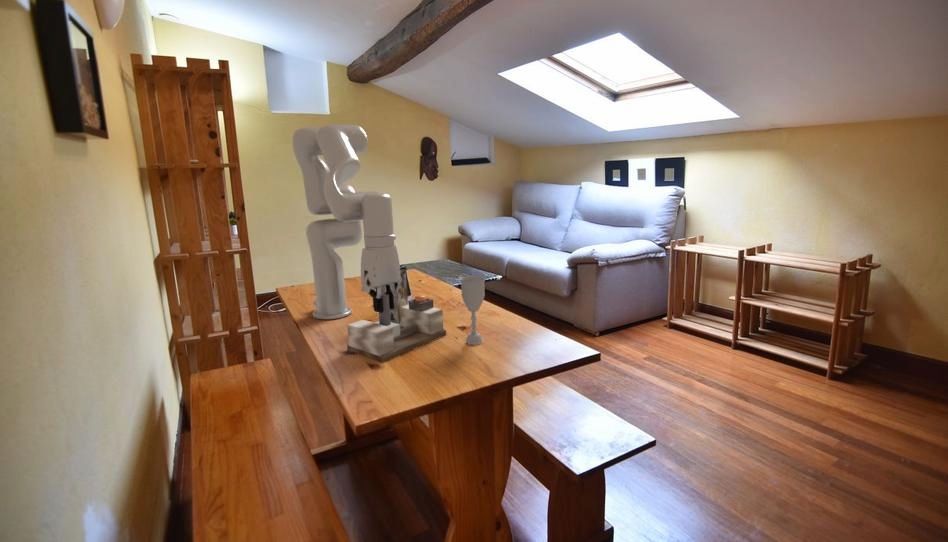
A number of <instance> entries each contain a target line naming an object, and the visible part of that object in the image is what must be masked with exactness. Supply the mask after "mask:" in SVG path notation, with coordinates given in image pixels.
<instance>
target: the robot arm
mask: <svg viewBox="0 0 948 542" xmlns="http://www.w3.org/2000/svg"><path fill="white" fill-rule="evenodd" d="M368 147H369V139H368V136H367V133H366V132H365V130H364V129H363V128H362V127H361V126H360V125H355V124H328V125H327V124H326V125H323V126H305V127H304V126H303V127H300V128H298V129H295V131H294V132H293V135H292V150H293V152H294V157H295V158H296V161H297V163H298V166H299V167H300V169H301V175H302V179H303V186H304V194H305V201H306V205H307V208H308V212H309V213H310V214H312V215H314V216H327V215H328V216H329V215H332V216H333V217H334V218H324V219H317V220H314V221H312V222H310V223H309V224H308V225H307V226H306V229H305V233H306V235H305V236H306V239H307V240H306V241H307V244H308V246H309V249H310V250H309V251H310V256H311V262H312V264H311V265H312V270H313V271H312V272H313V281H314V282H313V283H314V292H315V300H313V302H312V305H313V306H315V310H313V312H312V317H313V318H314V319H316V320H317V319H318V320H335V319H336V320H337V319H340V318H344V317H347V316H349V315H351V314H352V312H353V309H352V307H350V306H349V305H347V293H346V284H345V272H344V262H343V260H342V257H341V256H340V255H339V254H338V253H337V251H335V249H338V248H344V247H353V246H357V245H358V244H360V243H361V240H362V237H363V238H364V248H362V249H361V256H360V282H361V285H362V286H361V288H360V290H361V291H362V292H363V293H366V294H368V295H369V296H370V297H371V298H372V305H373V306H372V307H373V311H374V312H375V313H376V312H377V313H378V314H379V313H383V311H384V310H383V299H382V298H380V297H381V286H385V292H386V293H384V294H389V304H390V309H394V295H393V294H395V290H396V288H397V286H398V285H399V284H400V283H401V282H402V278H401V276H400V270H401V267H400V264H401V263H400V259H399V253H398V248H397V246H396V245H395V240H396V239H397V237H396V236H397V235H395V234H394V231H395V230H394V221H393V220H394V219H393V202H392V197H391V195H390V194H389V193H382V192H379V191H372V190H371V191H357V192H356V190H355V188H354V187H353V186H351V185H349V184H347V183H345V182H348V181H349V180H351V179H353V178H354V177H356V175H357V174H359V172H360V170H361V162H360V161H361V160H359V158H358V155H363V154H364V153H366V151H368ZM320 156H323V159H324V160H323V159H322V158H321V157H320ZM361 221H362V222H361ZM361 223H362V224H363V229H362V224H361ZM362 230H363V231H362ZM389 285H390V286H389Z"/></svg>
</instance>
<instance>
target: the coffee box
mask: <svg viewBox="0 0 948 542" xmlns="http://www.w3.org/2000/svg"><path fill="white" fill-rule="evenodd" d="M400 276H401V278H402V282H401V283H400V284H399V285H398V286H397V288H396V290H395V294H393V295H394V309H390V319H391V322H392V323H396V324H400V325H402V321H401V307H402V306H405V305H408V304H409V300H408V282H407V269H400ZM389 286H390V285H389ZM384 293H386V292H385V286H381V294H384Z"/></svg>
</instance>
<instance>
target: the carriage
mask: <svg viewBox="0 0 948 542" xmlns="http://www.w3.org/2000/svg"><path fill="white" fill-rule="evenodd" d="M380 298H382V299H383V310H384V311H383V313H379V312H378V321H374V322H373V323H377V324H380V325H384V326H388V327H391V328H393V338H394V337H397V336H399V335H400V324H396V323H392V322H391V319H390V304H389V294H381V297H380Z"/></svg>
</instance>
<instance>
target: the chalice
mask: <svg viewBox="0 0 948 542" xmlns="http://www.w3.org/2000/svg"><path fill="white" fill-rule="evenodd" d="M458 279H459V281H460V283H461V285H460V288H461V291H460V292H461V297H462V300H463V303H464V304H465V307H466V309H467V310H468V312H471V318H470V319H471V324H470V326H471V328H472V330H471V332H469V333H468V334H467V337H466V340H465V341H466V343H468V344H467V345H469V344H473V345H472V346H478V344H479V345H482V344H484V340H483V337H482V335H481V333H479V332H477V330H476V329H477V326H478V323H476V321H477V316H476V312H478V311H479V310H480V308H481V306H482V304H483V301H484V299H485V296H486V293H485V281H486V279H487V277H486V276H482V275H477V274H476V275H472V274H471V275H464V276H459V278H458Z"/></svg>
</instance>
